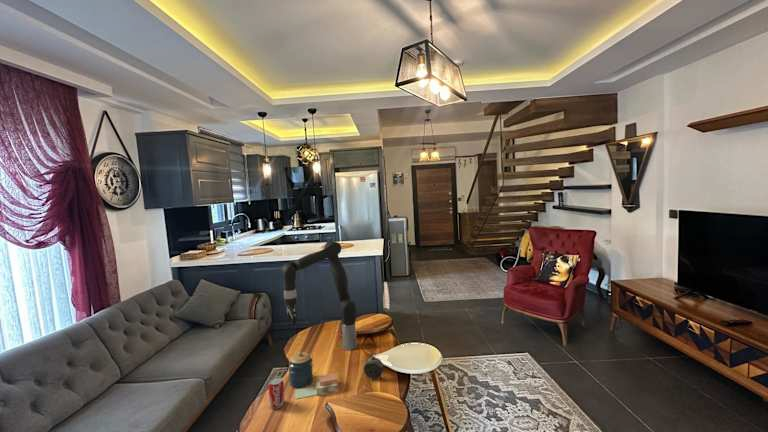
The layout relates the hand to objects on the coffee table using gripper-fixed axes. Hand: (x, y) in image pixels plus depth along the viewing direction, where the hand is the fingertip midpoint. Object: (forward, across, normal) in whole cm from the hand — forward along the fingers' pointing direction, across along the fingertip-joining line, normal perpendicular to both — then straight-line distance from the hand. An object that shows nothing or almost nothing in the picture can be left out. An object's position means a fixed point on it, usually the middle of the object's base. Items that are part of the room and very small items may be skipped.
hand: (292, 321), depth 198 cm
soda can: (+27, -34, +19) cm, 48 cm away
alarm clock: (+28, -43, -32) cm, 61 cm away
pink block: (+23, -36, -8) cm, 43 cm away
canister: (+27, -21, +3) cm, 35 cm away
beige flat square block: (+27, -36, -7) cm, 45 cm away
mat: (+27, -33, +4) cm, 43 cm away
